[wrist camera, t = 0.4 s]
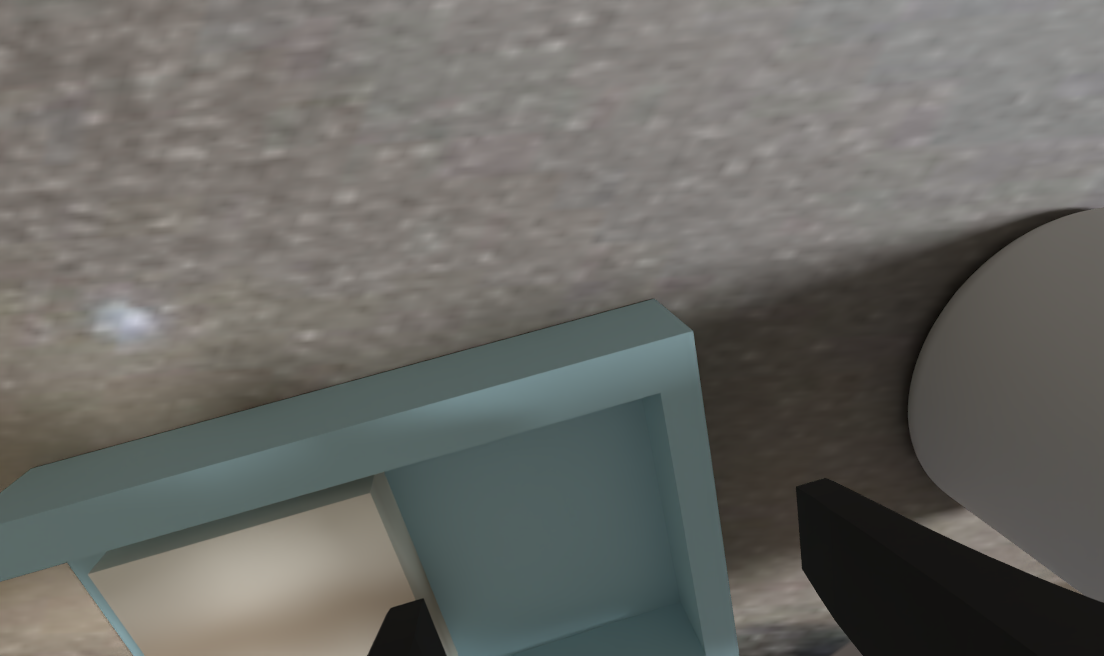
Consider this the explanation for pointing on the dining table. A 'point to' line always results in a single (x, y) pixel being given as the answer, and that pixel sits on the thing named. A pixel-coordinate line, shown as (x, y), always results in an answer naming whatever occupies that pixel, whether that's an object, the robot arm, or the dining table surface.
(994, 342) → the cylinder vase
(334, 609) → the cover plate
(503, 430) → the teal box
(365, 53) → the dining table surface
